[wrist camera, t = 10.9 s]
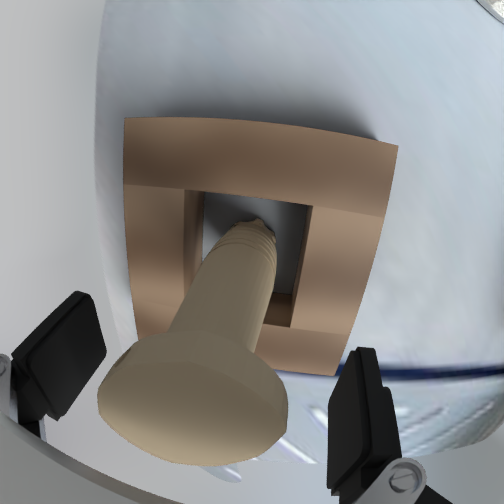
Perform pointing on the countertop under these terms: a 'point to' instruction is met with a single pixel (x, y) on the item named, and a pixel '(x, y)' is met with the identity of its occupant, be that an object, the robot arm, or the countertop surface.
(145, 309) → the keyed socket block
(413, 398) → the countertop surface
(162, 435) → the tan flared peg
